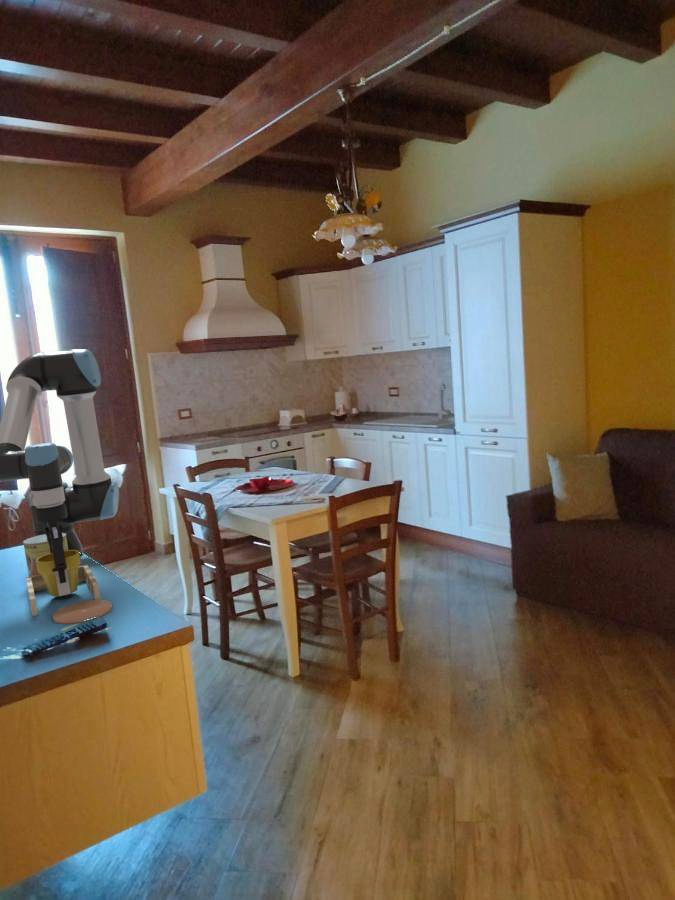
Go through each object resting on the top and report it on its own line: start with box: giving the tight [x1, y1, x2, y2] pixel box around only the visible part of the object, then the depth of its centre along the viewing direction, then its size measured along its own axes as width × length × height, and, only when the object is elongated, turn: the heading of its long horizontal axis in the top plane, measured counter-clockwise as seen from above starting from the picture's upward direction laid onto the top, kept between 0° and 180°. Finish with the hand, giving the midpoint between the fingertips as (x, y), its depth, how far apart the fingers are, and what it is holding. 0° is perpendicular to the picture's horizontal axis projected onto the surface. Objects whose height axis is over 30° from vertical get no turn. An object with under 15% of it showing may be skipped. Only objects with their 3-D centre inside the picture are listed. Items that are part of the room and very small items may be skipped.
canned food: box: [22, 533, 68, 577], centre depth 186 cm, size 11×11×12 cm
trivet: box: [52, 599, 113, 625], centre depth 155 cm, size 13×13×1 cm
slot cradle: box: [25, 564, 102, 617], centre depth 170 cm, size 22×16×4 cm
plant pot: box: [36, 550, 81, 597], centre depth 168 cm, size 10×10×10 cm
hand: (62, 588), depth 169 cm, fingers closed on plant pot, 10 cm apart
